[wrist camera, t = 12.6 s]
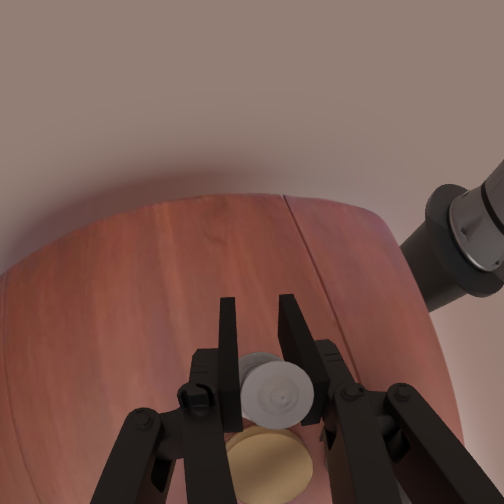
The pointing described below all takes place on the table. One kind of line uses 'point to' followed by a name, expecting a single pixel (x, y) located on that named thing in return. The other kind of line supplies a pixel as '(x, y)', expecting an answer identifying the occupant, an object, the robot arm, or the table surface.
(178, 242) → the table surface
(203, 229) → the table surface
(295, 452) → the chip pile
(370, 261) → the table surface
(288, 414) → the chess piece
